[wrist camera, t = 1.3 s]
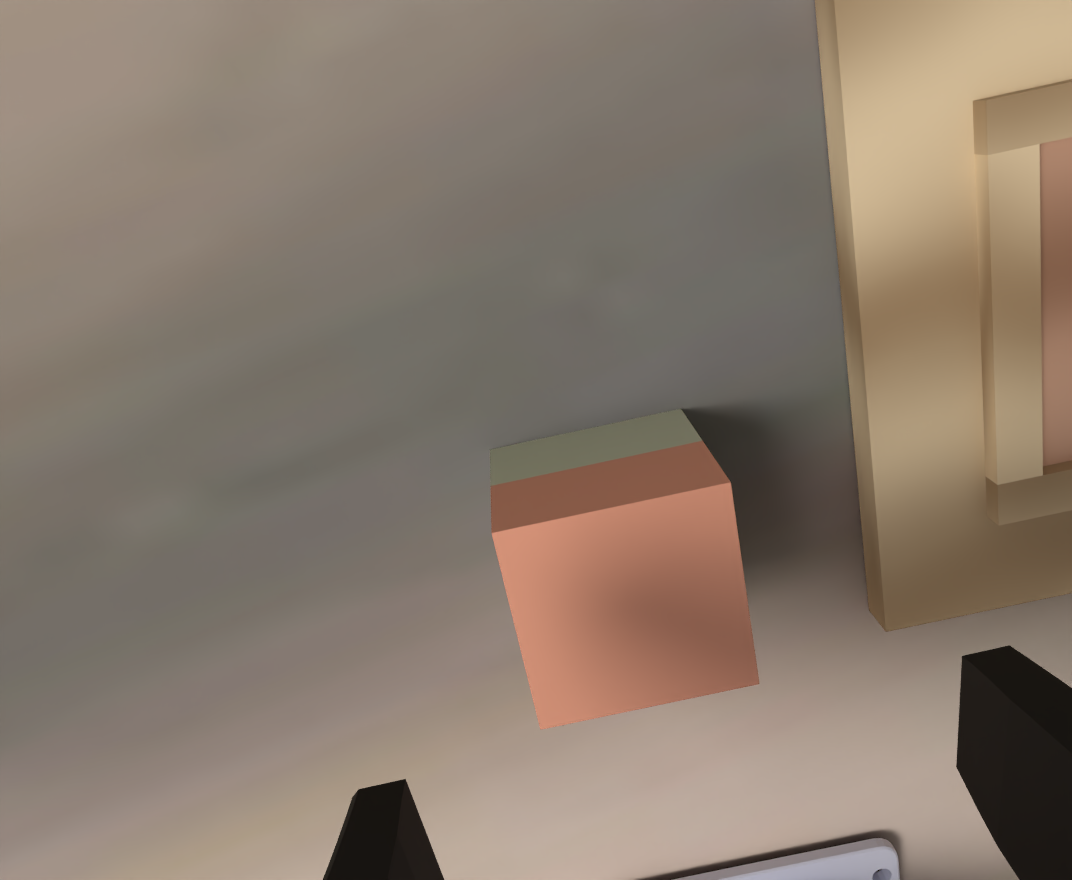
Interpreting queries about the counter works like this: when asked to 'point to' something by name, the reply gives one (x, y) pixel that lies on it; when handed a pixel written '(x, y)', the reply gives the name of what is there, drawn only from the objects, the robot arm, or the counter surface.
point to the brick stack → (621, 568)
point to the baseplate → (955, 294)
